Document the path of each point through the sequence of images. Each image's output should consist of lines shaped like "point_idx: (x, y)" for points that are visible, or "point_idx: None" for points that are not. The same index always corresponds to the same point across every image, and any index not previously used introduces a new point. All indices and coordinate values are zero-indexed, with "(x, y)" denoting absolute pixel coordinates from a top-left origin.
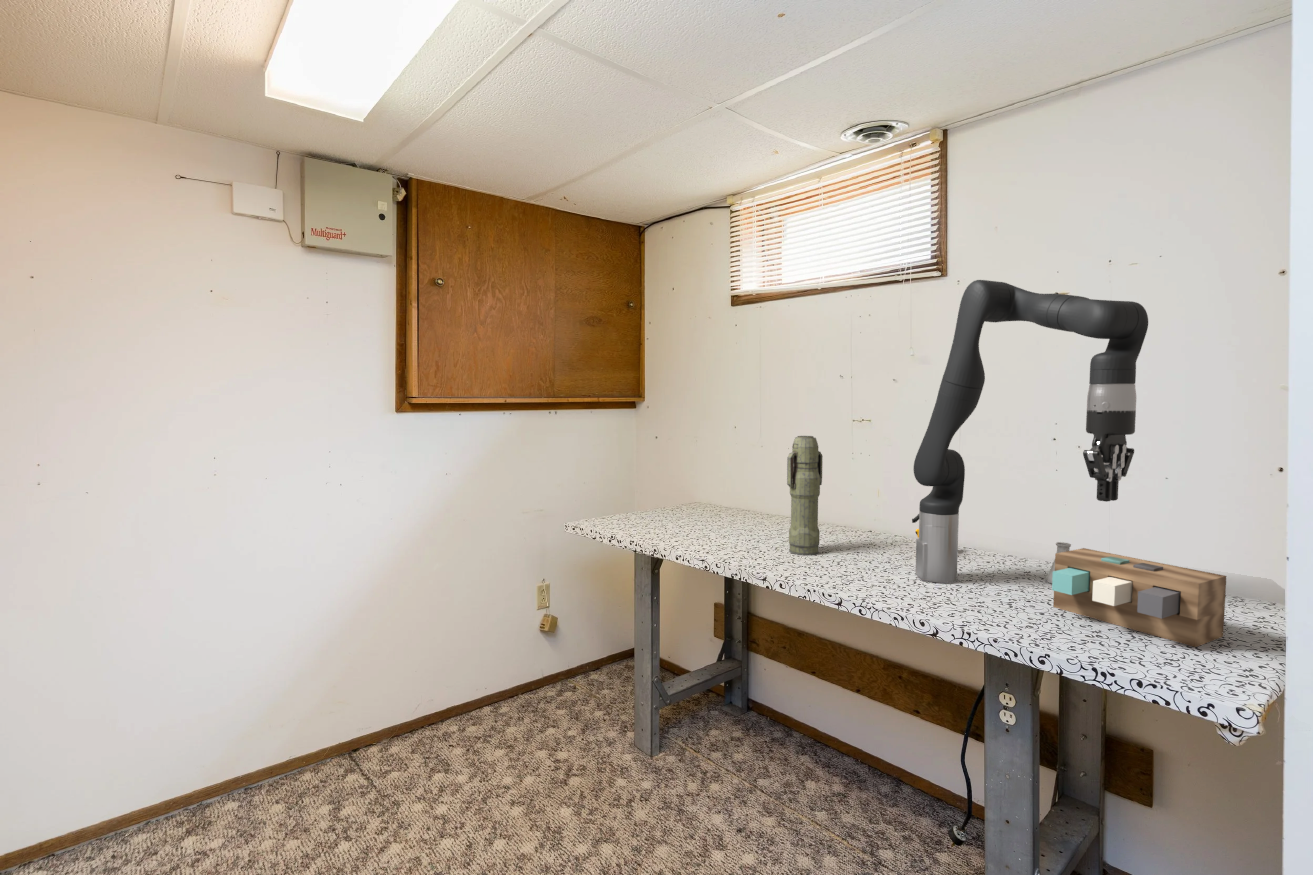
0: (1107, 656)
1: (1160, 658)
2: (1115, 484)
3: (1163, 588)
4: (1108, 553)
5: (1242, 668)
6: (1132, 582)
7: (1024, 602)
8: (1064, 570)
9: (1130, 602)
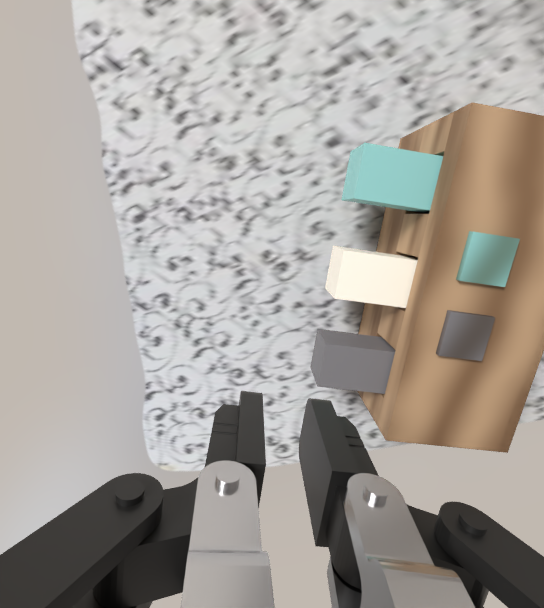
0: (189, 311)
1: (250, 361)
2: (315, 519)
3: None
4: None
5: None
6: None
7: (387, 78)
8: (401, 159)
9: None
